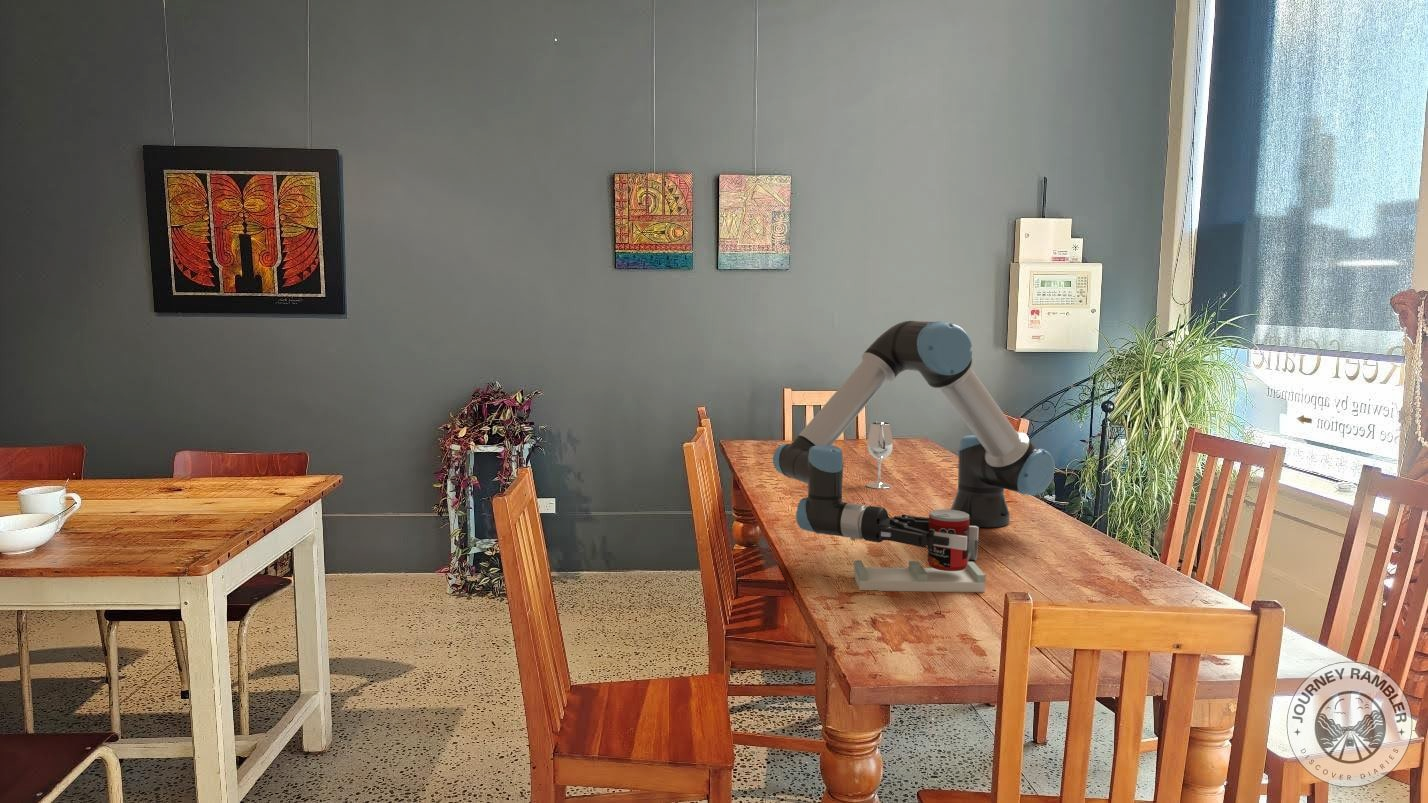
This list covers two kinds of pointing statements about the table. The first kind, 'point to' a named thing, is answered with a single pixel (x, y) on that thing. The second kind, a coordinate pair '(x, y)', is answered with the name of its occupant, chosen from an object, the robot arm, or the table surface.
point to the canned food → (948, 524)
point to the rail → (911, 584)
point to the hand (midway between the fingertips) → (972, 538)
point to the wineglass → (880, 448)
